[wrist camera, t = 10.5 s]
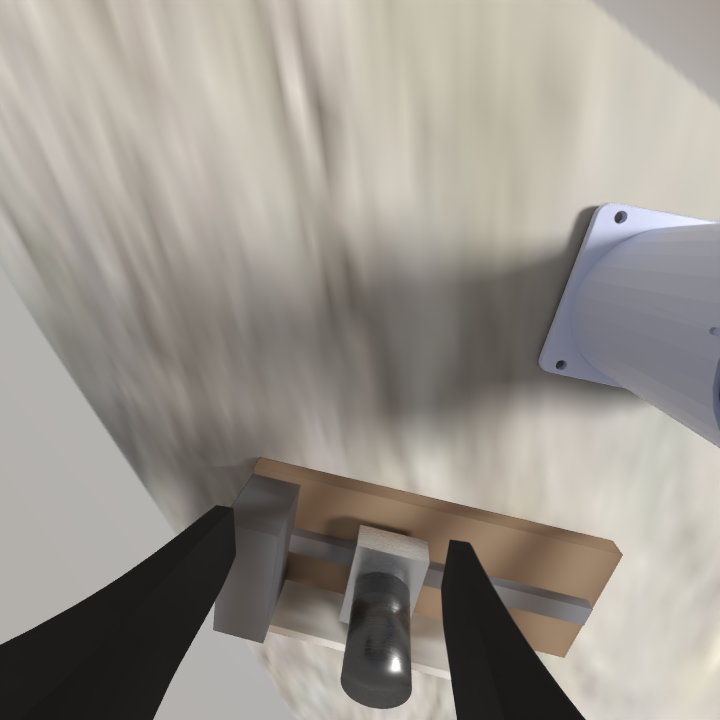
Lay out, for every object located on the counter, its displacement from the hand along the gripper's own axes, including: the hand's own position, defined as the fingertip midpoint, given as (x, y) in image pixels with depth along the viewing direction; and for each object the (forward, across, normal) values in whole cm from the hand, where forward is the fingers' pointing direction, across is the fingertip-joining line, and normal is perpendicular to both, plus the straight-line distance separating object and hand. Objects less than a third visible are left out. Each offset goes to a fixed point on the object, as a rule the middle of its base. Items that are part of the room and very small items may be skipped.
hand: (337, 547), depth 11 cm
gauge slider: (+7, -2, +10) cm, 13 cm away
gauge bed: (+9, -4, +10) cm, 14 cm away
